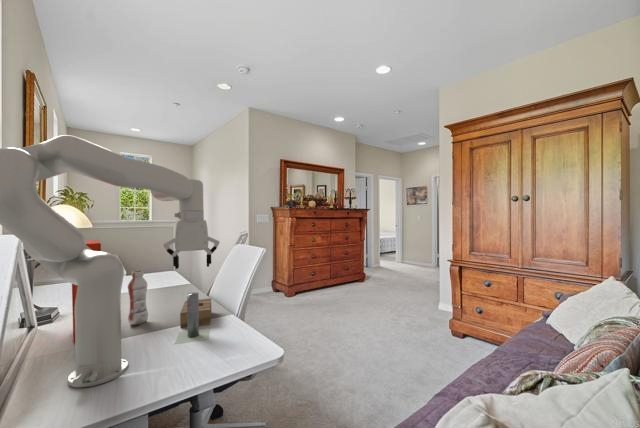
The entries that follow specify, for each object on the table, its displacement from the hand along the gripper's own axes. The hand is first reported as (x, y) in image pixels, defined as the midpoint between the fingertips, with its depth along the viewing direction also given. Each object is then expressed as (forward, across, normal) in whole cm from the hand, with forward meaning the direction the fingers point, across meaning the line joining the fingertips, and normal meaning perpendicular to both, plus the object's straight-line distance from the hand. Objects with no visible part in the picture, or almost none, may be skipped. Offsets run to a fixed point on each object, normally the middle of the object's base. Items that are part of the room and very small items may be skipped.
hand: (192, 267), depth 99 cm
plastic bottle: (+24, -21, +21) cm, 38 cm away
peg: (+23, 0, 0) cm, 23 cm away
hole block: (+24, 0, +17) cm, 29 cm away
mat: (+23, 0, 0) cm, 23 cm away
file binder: (+24, -36, +18) cm, 47 cm away
